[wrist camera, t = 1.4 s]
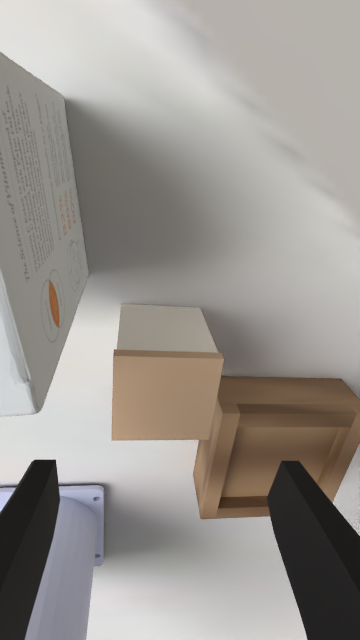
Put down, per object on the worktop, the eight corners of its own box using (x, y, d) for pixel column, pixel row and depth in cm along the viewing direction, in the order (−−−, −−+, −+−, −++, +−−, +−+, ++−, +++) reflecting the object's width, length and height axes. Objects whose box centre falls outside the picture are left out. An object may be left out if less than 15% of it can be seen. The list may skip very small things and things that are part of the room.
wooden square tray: (303, 468, 27) (326, 513, 24) (192, 470, 26) (200, 519, 22) (338, 375, 23) (372, 414, 20) (209, 372, 22) (222, 413, 18)
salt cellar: (192, 372, 21) (208, 439, 16) (117, 371, 20) (111, 440, 16) (201, 305, 19) (224, 358, 14) (119, 301, 18) (113, 356, 14)
